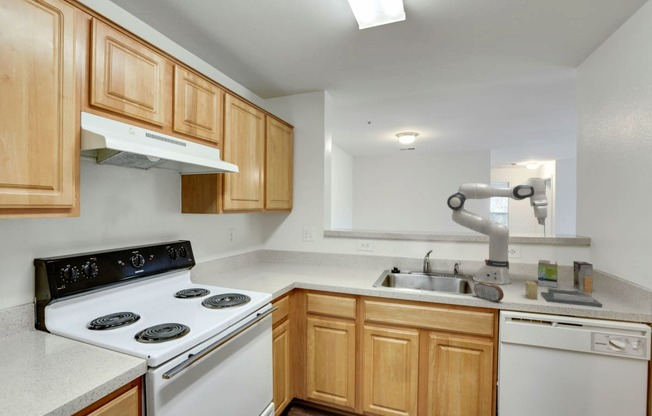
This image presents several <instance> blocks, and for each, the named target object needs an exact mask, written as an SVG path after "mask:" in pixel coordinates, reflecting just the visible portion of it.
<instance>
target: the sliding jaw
mask: <svg viewBox="0 0 652 416" xmlns="http://www.w3.org/2000/svg"><path fill="white" fill-rule="evenodd" d="M546 293H559V294H570V295H581V296H592V297H593V292H592V277H587V276H583V291H580V290H577V289H576V290H574V289H566V288H565V289H563V288H554V287H547V288H546Z"/></svg>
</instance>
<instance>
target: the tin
mask: <svg viewBox="0 0 652 416" xmlns="http://www.w3.org/2000/svg"><path fill="white" fill-rule="evenodd" d="M502 289H503V288H501V287H500V286H498V284H493V283H485V282H477V283H475V284H474V290H473V291H474V293H475V295H476V296H477V297H478V298H480V299H484V300H487V301H490V302H494V303H495V302H500V301H502V300H503V299H504V291H503V290H502Z"/></svg>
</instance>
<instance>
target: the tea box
mask: <svg viewBox="0 0 652 416" xmlns="http://www.w3.org/2000/svg"><path fill="white" fill-rule="evenodd" d="M537 266H538V267H537V286H540V287H547V288H554V289H558V280H559V279H558V274H559V273H558V269H559V267H558V266H559V265H558V261H557V260H546V259H544V260H543V259H538V265H537Z"/></svg>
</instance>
